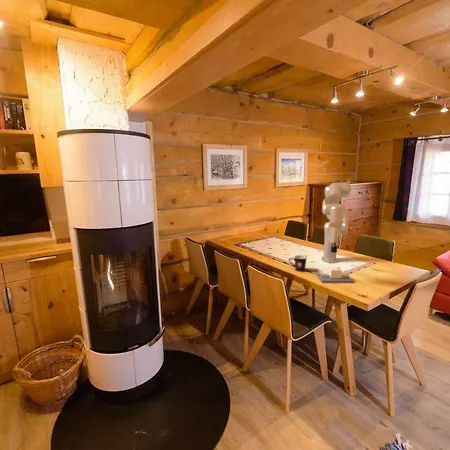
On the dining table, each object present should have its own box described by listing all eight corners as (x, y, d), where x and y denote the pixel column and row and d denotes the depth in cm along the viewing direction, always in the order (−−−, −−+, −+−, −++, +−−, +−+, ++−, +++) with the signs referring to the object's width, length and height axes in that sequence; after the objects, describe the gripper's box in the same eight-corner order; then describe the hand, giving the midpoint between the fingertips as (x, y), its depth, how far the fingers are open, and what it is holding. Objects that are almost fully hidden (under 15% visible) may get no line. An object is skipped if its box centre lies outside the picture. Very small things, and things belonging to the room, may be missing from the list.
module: (327, 274, 185) (328, 266, 184) (337, 274, 185) (338, 266, 183) (330, 278, 179) (331, 269, 178) (341, 278, 179) (342, 269, 178)
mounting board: (316, 275, 188) (316, 273, 188) (345, 275, 188) (346, 273, 187) (321, 282, 177) (321, 280, 176) (353, 282, 176) (353, 280, 175)
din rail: (320, 276, 183) (320, 273, 183) (347, 276, 183) (347, 273, 182) (321, 277, 181) (321, 275, 181) (348, 277, 180) (349, 275, 180)
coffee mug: (308, 270, 199) (308, 256, 198) (302, 273, 194) (302, 259, 192) (294, 266, 208) (294, 253, 206) (288, 269, 202) (288, 256, 200)
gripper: (326, 222, 183) (324, 249, 186) (333, 227, 168) (331, 255, 172) (337, 222, 182) (335, 249, 186) (346, 227, 168) (344, 255, 171)
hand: (333, 252), depth 179 cm, fingers closed
